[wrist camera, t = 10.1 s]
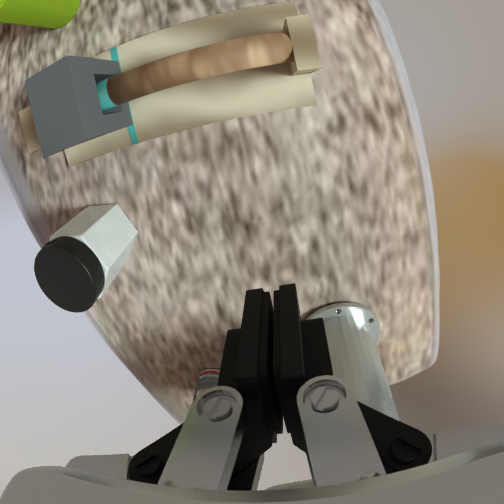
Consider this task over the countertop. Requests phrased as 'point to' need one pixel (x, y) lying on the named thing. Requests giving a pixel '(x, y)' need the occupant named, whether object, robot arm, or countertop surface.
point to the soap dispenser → (38, 12)
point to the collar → (73, 103)
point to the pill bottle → (206, 380)
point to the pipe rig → (203, 76)
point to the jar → (85, 257)
